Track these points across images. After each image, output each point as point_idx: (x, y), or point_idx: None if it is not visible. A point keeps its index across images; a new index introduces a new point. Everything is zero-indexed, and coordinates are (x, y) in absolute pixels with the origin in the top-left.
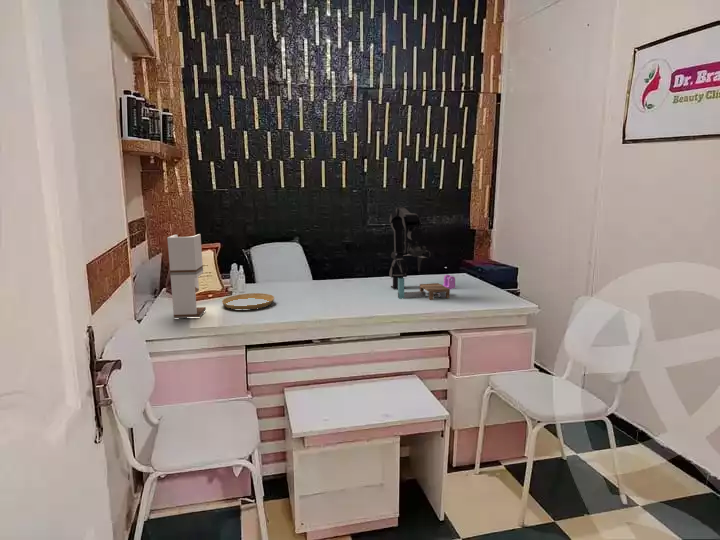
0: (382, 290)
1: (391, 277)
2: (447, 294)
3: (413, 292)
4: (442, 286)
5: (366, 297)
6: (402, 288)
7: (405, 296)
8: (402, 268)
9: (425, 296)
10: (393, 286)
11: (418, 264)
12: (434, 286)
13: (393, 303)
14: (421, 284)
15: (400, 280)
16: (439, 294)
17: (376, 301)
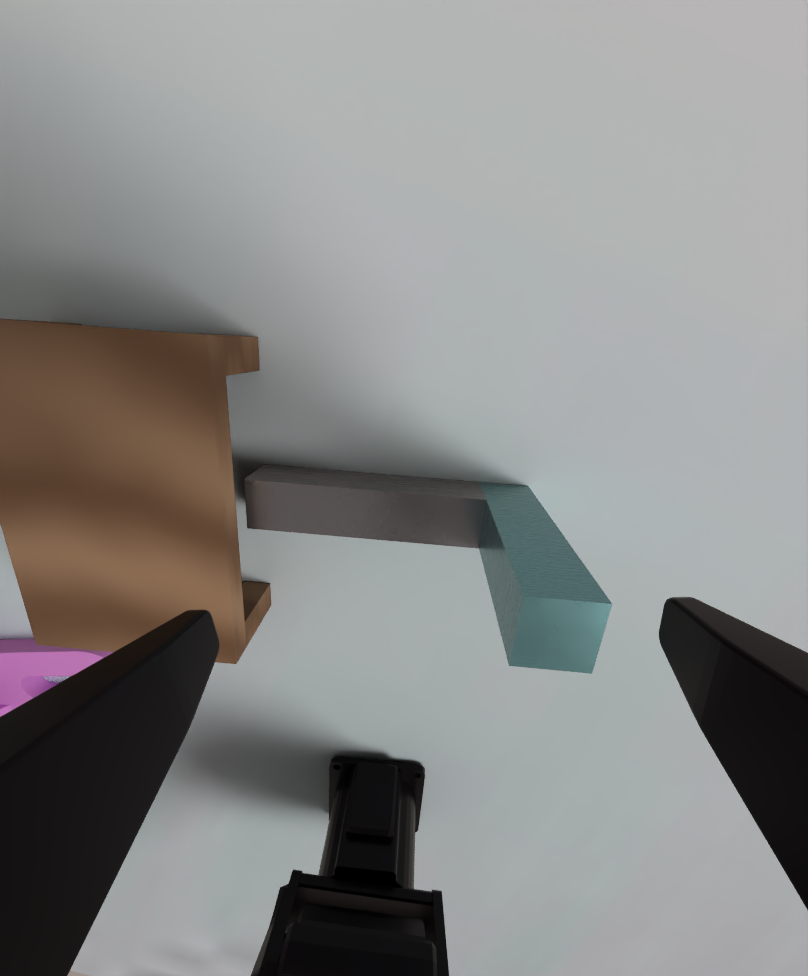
0: (521, 767)
1: (441, 894)
2: (33, 321)
3: (375, 507)
4: (12, 489)
5: (772, 624)
6: (518, 524)
7: (468, 487)
8: (806, 675)
9: (265, 465)
10: (415, 803)
11: (93, 843)
12: (106, 520)
13: (685, 322)
14: (222, 649)
15: (581, 585)
16: None
17: (788, 462)
